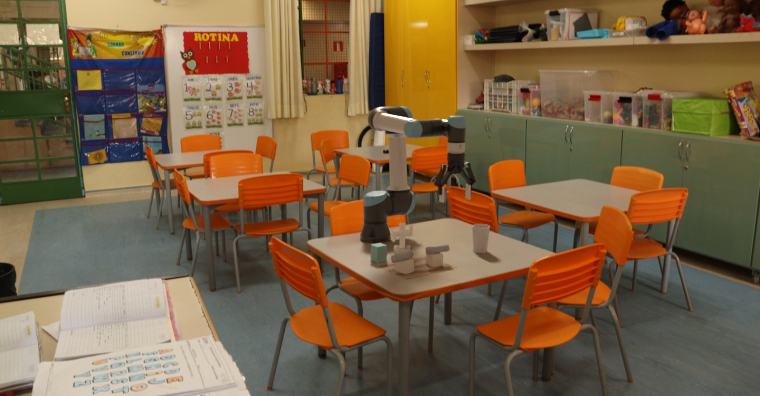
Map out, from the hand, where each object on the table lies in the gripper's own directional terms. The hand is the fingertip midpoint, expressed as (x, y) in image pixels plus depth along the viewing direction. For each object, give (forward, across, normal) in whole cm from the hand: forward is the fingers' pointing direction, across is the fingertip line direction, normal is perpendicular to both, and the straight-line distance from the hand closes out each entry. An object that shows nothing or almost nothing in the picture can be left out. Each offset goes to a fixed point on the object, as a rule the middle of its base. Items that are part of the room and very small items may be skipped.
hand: (454, 200), depth 271 cm
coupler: (+26, -32, +10) cm, 43 cm away
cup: (+26, +17, +4) cm, 32 cm away
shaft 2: (+25, -12, -6) cm, 29 cm away
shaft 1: (+25, -31, -9) cm, 41 cm away
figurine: (+26, -18, +15) cm, 35 cm away
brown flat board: (+26, -22, -5) cm, 35 cm away
